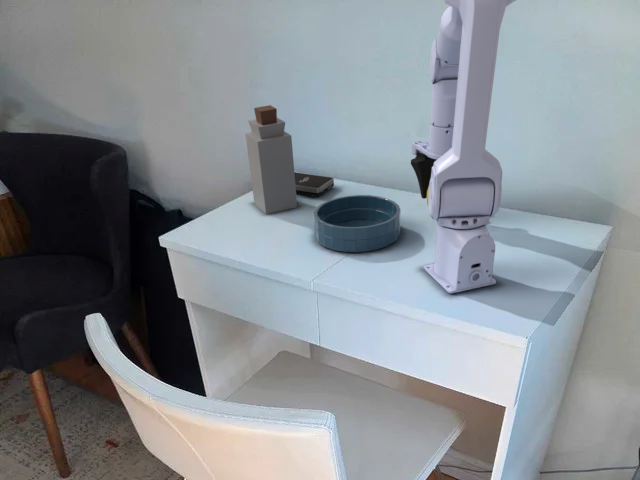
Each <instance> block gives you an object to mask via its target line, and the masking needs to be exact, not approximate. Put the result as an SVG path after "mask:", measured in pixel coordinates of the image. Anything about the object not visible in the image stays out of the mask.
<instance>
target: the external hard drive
mask: <svg viewBox="0 0 640 480" xmlns="http://www.w3.org/2000/svg"><path fill="white" fill-rule="evenodd" d="M294 174H295V186H296V194H298V195H299V194H300V195H304V196H310V197H311V196H312V197H320V196H321V195H323V194H324V193H326V192H327V191H329V190H330V189H332V188H333V187H334V185H335V179H334V176H325V175H318V174H311V173H306V172H305V173H303V172H298V171H294Z"/></svg>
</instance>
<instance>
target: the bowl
mask: <svg viewBox="0 0 640 480" xmlns="http://www.w3.org/2000/svg"><path fill="white" fill-rule="evenodd" d="M401 215H402V214H401V208H400V205H399V204H398V203H397V202H396V201H394V200H392V199H390V198H386V197H383V196H379V195H370V194H356V195H355V194H354V195H346V196H339V197H335V198H332V199H329V200H327V201H325V202H322V203H320V204H319V205H318V206H316V208H315V210H314V211H313V219H314V232H315V233H314V234H315V240H316V241H317V242H318V244H319V245H321V246H323V247H324V248H327V249H330V250H334V251H339V252H345V253H347V252H348V253H362V252H369V251H374V250H379V249H383V248H385V247H388V246H389V245H392V244H393V243H395V242H396V241H397V240H398V239H399V237H400V234H401Z"/></svg>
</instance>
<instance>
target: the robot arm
mask: <svg viewBox="0 0 640 480" xmlns="http://www.w3.org/2000/svg"><path fill="white" fill-rule="evenodd" d="M514 2H516V0H444V3H445V5H448V7H447V8H446V9H445V10H444V12H443V13H442V14H441V19H440V23H439V27H438V28H439V29H438V35H437V38H434V40H432V44H431V48H430V53H429V54H430V55H429V77H430V78H429V79H430V83H431V97H430V98H431V99H430V120H429V135H428V138H429V139H428V141H423V140H418V141H415V142H412V143H411V155H413V156H415V157H414V158H412V159H411V160H410V165H411V167H412V169H413V171H414V173H415V176H416V179H417V183H418V187H419V191H420V196H421V197H420V198H421V199H422V200H423V199H424V200H425V199H427V190H428V187H429V194H428V205H427V208H428V215H429V217H430V218H431V219H432V220H433V221H436V233H435V247H434V248H435V249H434V260H433V261H434V263H429V264H425V265H424V266H423V270H424V271H425V272H426V273H428V275H430V276H431V277H432V278H433V279H434V280H435V281H436V282H437V283H438V284H439V286H441V287H442V288H443V289H444V290H445V291H446V292H447V293H448V294H456V293H460V292H465V291H469V290H475V289H479V288H483V287H488V286H492V285H496V284H497V280H496V279H495V278H494V277H493V269H494V262H495V255H496V242H495V240H494V239H493V237H492V236H491V235H490V233H489V232H488V227H487V225H490V219H491V218H494V217H496V215H497V214H498V213H499V211H500V207H501V203H502V193H503V186H502V183H503V182H502V180H503V168H502V166H501V163H500V161H499V159H498V158H497V157H496V156H494V155H493V154H492V153H490V152H489V151H488V150H487V149H486V146H487V145H486V144H487V135H488V129H489V128H488V127H489V121H490V120H489V119H490V112H491V105H492V102H491V101H492V96H493V87H494V80H495V71H496V63H497V55H498V47H499V38H500V31H501V27H502V22H503V19H504V15H505V13H506V12H505V11H506V9H507V7H508V6H510V5H512V4H513V3H514Z"/></svg>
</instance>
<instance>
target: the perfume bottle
mask: <svg viewBox="0 0 640 480" xmlns="http://www.w3.org/2000/svg"><path fill="white" fill-rule="evenodd" d="M253 110H254V115H255V119H250V120H248V125H249V127H250V132H245V142H246V149H247V157H248V165H249V172H250V181H251V189H252V196H253V197H252V198H253V204H254V205H255V206H256V207H257V208H259V210H260V211H262V212H263V213H264V214H265V215H269V214H273V213H278V212H282V211H286V210H291V209H295V208H298V199H297V193H296V186H295V174H294V172H295V165H294V164H295V163H294V151H293V139H292V134H289V133H288V132H286V131H285V128H286V121H284V120H282V119H281V118H279V117H278V115H277V114H278V112H277V111H278V110H277V108H276V107H274V106H273V105H271V104H269V105H264V106H257V107H254V108H253Z"/></svg>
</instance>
